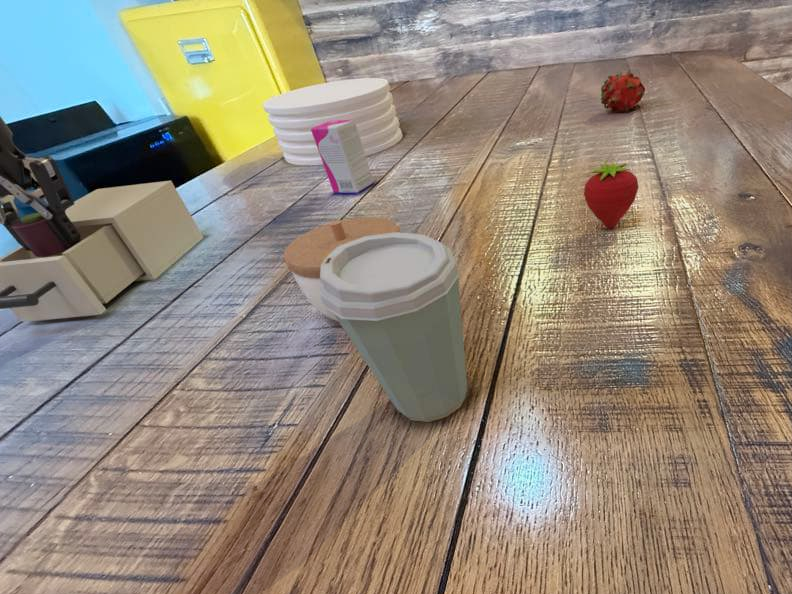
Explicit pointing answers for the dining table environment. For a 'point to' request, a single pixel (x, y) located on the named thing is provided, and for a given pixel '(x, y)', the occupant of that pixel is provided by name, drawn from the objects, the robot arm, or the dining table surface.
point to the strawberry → (611, 193)
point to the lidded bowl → (327, 251)
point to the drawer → (68, 277)
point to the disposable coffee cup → (402, 318)
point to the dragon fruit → (622, 92)
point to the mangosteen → (39, 235)
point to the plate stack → (333, 116)
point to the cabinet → (142, 222)
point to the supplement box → (343, 157)
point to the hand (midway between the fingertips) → (54, 245)
